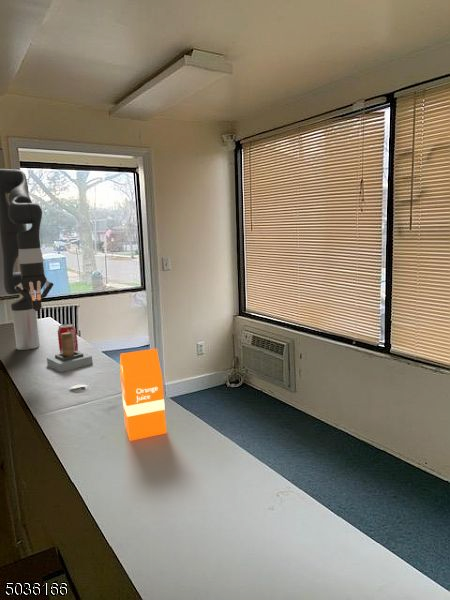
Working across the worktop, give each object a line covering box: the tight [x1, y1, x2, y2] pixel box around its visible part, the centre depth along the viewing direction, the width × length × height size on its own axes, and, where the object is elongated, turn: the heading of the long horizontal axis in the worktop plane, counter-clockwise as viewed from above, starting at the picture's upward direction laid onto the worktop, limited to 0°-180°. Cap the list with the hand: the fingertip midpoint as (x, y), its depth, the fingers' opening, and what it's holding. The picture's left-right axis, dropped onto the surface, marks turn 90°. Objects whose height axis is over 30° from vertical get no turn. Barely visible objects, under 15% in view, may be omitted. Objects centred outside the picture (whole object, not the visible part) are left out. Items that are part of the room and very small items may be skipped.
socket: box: [46, 350, 93, 373], centre depth 160 cm, size 12×12×4 cm
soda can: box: [57, 323, 79, 354], centre depth 173 cm, size 7×7×12 cm
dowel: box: [61, 332, 74, 357], centre depth 159 cm, size 4×4×12 cm
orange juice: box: [119, 348, 167, 442], centre depth 103 cm, size 8×9×20 cm
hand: (37, 310), depth 152 cm, fingers closed
